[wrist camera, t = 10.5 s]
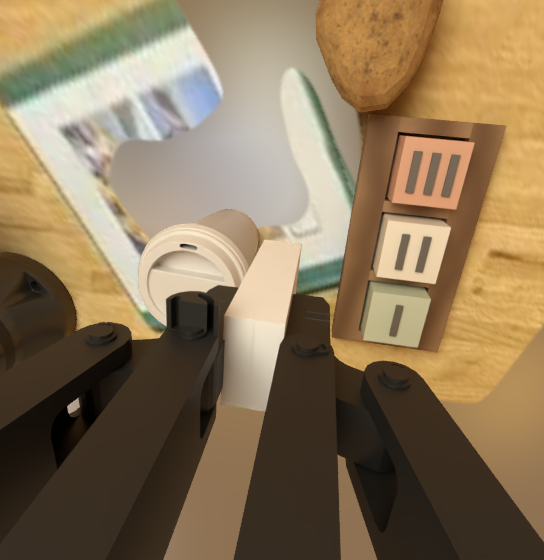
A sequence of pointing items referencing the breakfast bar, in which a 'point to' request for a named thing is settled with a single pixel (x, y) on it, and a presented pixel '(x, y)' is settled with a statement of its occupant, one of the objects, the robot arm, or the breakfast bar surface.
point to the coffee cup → (196, 258)
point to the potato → (374, 46)
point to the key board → (373, 203)
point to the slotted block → (394, 313)
